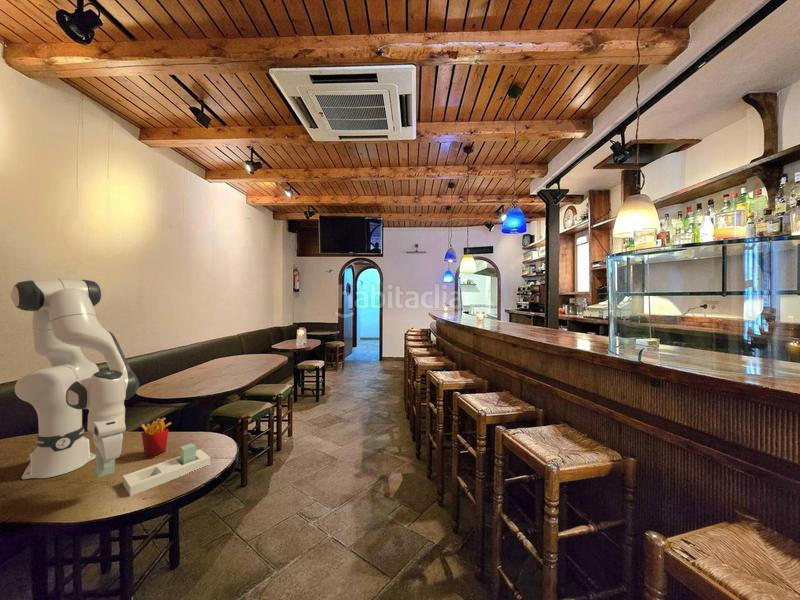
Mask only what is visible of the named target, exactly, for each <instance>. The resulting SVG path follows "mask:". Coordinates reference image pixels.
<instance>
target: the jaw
mask: <svg viewBox="0 0 800 600" xmlns="http://www.w3.org/2000/svg"><path fill="white" fill-rule="evenodd" d="M95 455H96V458H95V467H94V468H95V469H94V471H95V476H96V477H97V478H101V477H103V476H107V475H110V474H114V473H115V469H116V459H113V460H112V461H111V466H110V467H107V468H104V467H103V458H102V456H101V454H100V452H99V450H98V449H97V447H95Z"/></svg>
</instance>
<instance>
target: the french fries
mask: <svg viewBox="0 0 800 600" xmlns="http://www.w3.org/2000/svg"><path fill="white" fill-rule="evenodd" d="M165 420H166V417H162V418H157V419H156V420H154V421H152V422H151V423H146V425H145V424H144V423H143V424H141V425H140V426H141V427H142V429H143V430H144V431H143V432H141V438H142V445H143V451H144V457H146V456H148V457H147V458H149V457H151V458H150V459H152V458H153V457H155V456H157V457H159V456H158V455H160V454H162V453H164V452H165V453H166V452H167V451H166V450H167V443H168V436H169V429H168V426H170V425H172V422H171V421H170V422H168V423H166V424H165ZM165 453H164V454H165ZM162 455H163V454H162ZM160 456H161V455H160ZM155 458H156V457H155ZM153 459H154V458H153Z"/></svg>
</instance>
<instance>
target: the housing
mask: <svg viewBox="0 0 800 600" xmlns="http://www.w3.org/2000/svg"><path fill="white" fill-rule="evenodd" d="M207 465H209V466H211V456H209V455H208V454H207V453H206V452H205V451H204V450H202V449H200V448H199V449H197V445H195V444H194V443H193V442H190V443H188V444H185V445H182V446H180V447H179V456H176V457H174V458H171V459H167V460H165V461H163V462H159V463H155V464H153V465H150V466H148V467H144V468H142V469H141V468H140V469H138V470H136V471H135V470H134V472H133V471H132V472H130V473H127V474H123V475H122V485H123V487H124V488H125V490H126V492H127V493H128V494H129V496H130V497H131V496H134V495H136V494H139V493H142V492H144V491H146V490H149V489H151V488H155V487H158V486H160V485H163V484H165V483H168V482H170V481H172V480H176V479H178V478H181V477H182V476H183V477H184V476H186V475H188V474H190V473H189V472H191V471H193V472H195V471H194V470H196V471H198V470H197V469H199V468H201V469H203V468H202V467H204V466H206V467H208V466H207ZM204 468H205V467H204ZM199 470H200V469H199ZM187 473H188V474H187ZM191 473H192V472H191ZM185 474H186V475H185ZM180 476H181V477H180Z"/></svg>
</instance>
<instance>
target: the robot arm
mask: <svg viewBox="0 0 800 600" xmlns="http://www.w3.org/2000/svg"><path fill="white" fill-rule="evenodd" d="M10 299H11V302H12V303H13V305H14V307H15V308H17V309H19V310H21V311H26V312H33V313H32V334H33V335H32V336H33V344H34V351H35V352H36V353H37V354H38V355H40V356H43V357H44V358H46V359H48V361H49V363H50V366H49V367H45V368H41V369H37V370H35V371H33V372H30V373H27V374H26V375H23V376H21V377H20V378H18V380H17V381H16V383H15V386H14V394H15V395H16V396H17V398H18V399H20V400H21V401H24V402H26V403H29V404H30V405H31V406H32V407H33V408H34V410H35V411H36V415H37V420H38V423H37V424H38V435H36V439H35V440H36V448H35V449H34V450H33V451H32V452H30V453H29V454H28V461H30V462H29V464H28V465H27V467H26V468H25V470H24V472H23V474H22V476H21V479H22V480H28V479H30V480H31V479H48V478H52V477H56V476H61V475H65V474H67V473H70V472H73V471H75V470H78V469H79V468H81V467H83V466H85V465H86V464H87V463H89V462H91V461H92V460H94V459H95V460H96V453H93V452H91V450H90V439H89V438H87V437H85V436H84V435H85V433H84V432H85V428H84V425H83V410H88V414H87V426H86V427H87V432H89V433H92V441H93V444H94V445H95V448H97V449H98V450H99V452H100V454H101V456H102V458H103V467H104V468H107V467H110V466H111V461H112V460H113V459H115V460H116V459H118V458H120V456H121V454H122V448H123V447H122V446H123V440H124V439H123V438H124V432H126V430H127V429H126V428H127V427H126V426H127V425H126V407H125V401H127V400H130V399H131V398H132V397H134V395H136V393H137V392H138V390H139V387H140V382H139V378H138V377H137V375H136V374H135V373H134V371H133V370H132V368H131V366H130V364H129V362H128V360H127V358H126V356H125V354H124V352H123V349H122V347H121V346H120V344H119V342H118V339H117V338H116V336H115V335H114V334H113V332H111V331H108V330H107V329H105V328H104V326H103V325H101V324H102V323H100V321H99V320H98V318H97V313H96V310H95V306H96V305H97V304H99V303H100V302H101V299H102V290H101V287H100V285H99V284H98V282H96V281H93V280H87V279H81V280H79V279H67V278H65V279H64V278H63V279H61V278H60V279H59V278H58V279H44V280H43V279H42V280H25V281H24V280H23V281H18V282H17V283H16V284H14V285H13V287H12V289H11V293H10ZM81 348H85V349H90V350H94V351H96V352H98V353H100V354H101V355H102V357H103V358H104V360H105V362H106V364H107V366H108V368H109V369H105V370H100V369H99V367H98V365H97V364H95V362H92V361H91V360H89V359H88V358H87V356H85V354H84V352H82V349H81Z"/></svg>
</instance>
